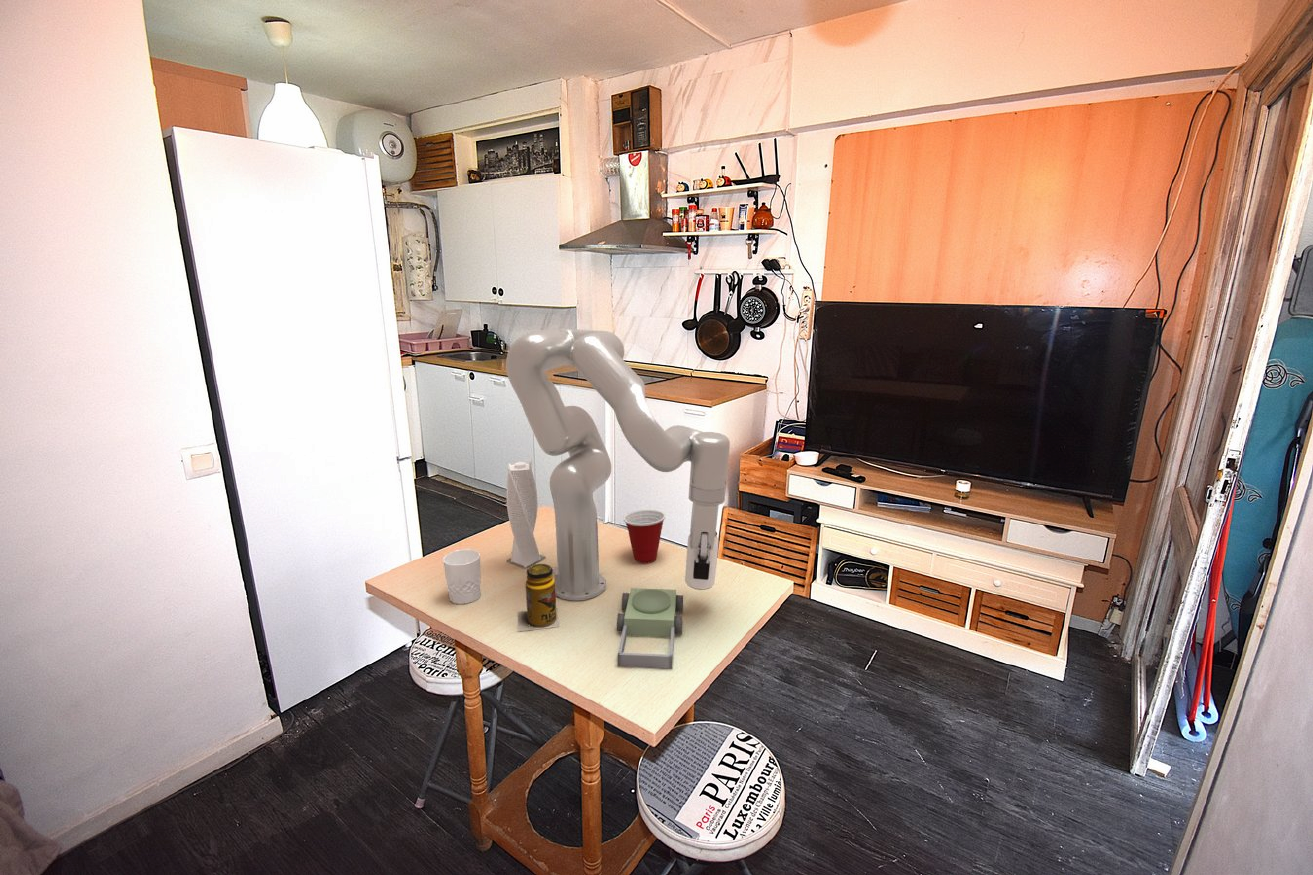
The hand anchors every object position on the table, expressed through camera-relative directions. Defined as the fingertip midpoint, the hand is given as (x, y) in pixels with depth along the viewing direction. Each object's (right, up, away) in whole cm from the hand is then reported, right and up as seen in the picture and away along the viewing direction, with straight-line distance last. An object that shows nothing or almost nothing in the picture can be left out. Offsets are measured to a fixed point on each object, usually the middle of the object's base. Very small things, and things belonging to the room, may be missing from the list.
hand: (700, 569), depth 124 cm
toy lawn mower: (-11, -12, -6) cm, 17 cm away
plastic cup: (-13, -3, +26) cm, 29 cm away
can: (0, -3, +1) cm, 3 cm away
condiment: (-35, -11, -1) cm, 36 cm away
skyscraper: (-43, -4, +24) cm, 49 cm away
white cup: (-53, -8, +8) cm, 54 cm away
